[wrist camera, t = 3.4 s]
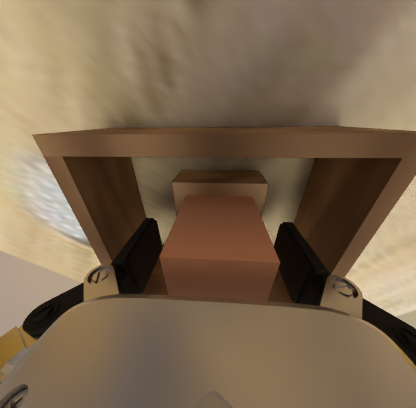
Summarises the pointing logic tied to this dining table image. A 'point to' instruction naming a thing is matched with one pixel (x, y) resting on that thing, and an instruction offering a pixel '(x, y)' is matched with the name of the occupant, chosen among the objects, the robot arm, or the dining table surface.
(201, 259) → the block
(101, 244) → the crate
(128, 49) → the dining table surface
